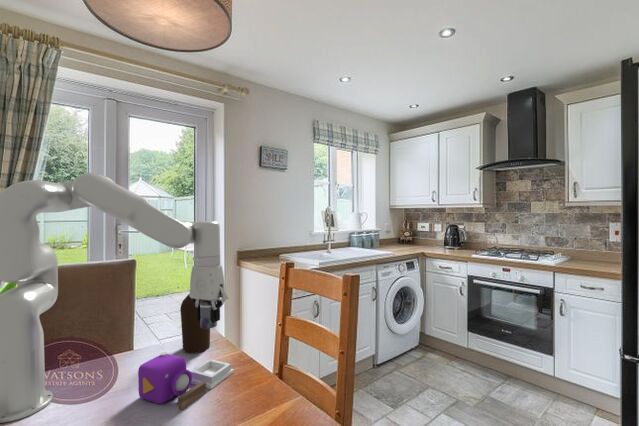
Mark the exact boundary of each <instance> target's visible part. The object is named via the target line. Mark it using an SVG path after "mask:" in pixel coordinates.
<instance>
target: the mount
mask: <svg viewBox="0 0 639 426" xmlns="http://www.w3.org/2000/svg"><path fill="white" fill-rule="evenodd" d="M189 371H190V372H191V374H192V381H191V384H192V385H194V386H195V385H197V384H198V383H200V382H201V381H203V382H206V389H208V390H212V389H214V388H215V387H216V386H217V385H219V384H220V383H221V382H223V381H224V380H225V379H226V378H229V377H230V376H231V375H232V374H234V369H233V368H232V364H231V363H228V362H224V361H221V360H215V359H212V358H209V359H207V361H205V362H202V364H200V365H198V366H197V367H195V368H194V369H192V370H189ZM191 384H190V385H191Z"/></svg>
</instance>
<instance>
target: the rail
mask: <svg viewBox="0 0 639 426" xmlns="http://www.w3.org/2000/svg"><path fill="white" fill-rule="evenodd" d="M206 393H207V388H206V382H203V381H201V382H200V383H198V384H197V385H195V384H194V386H192V387H191V388H189V389H188V390H187V391H186V392H185V393H184V394H182V395H181V396H177V410H179V411H184V410H185V409H186V408H188V407H189V406H190V405H191V404H193V403H194V402H196V401H197V400H199V399H200V398H201V397H202V396H204V395H205V394H206Z"/></svg>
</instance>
